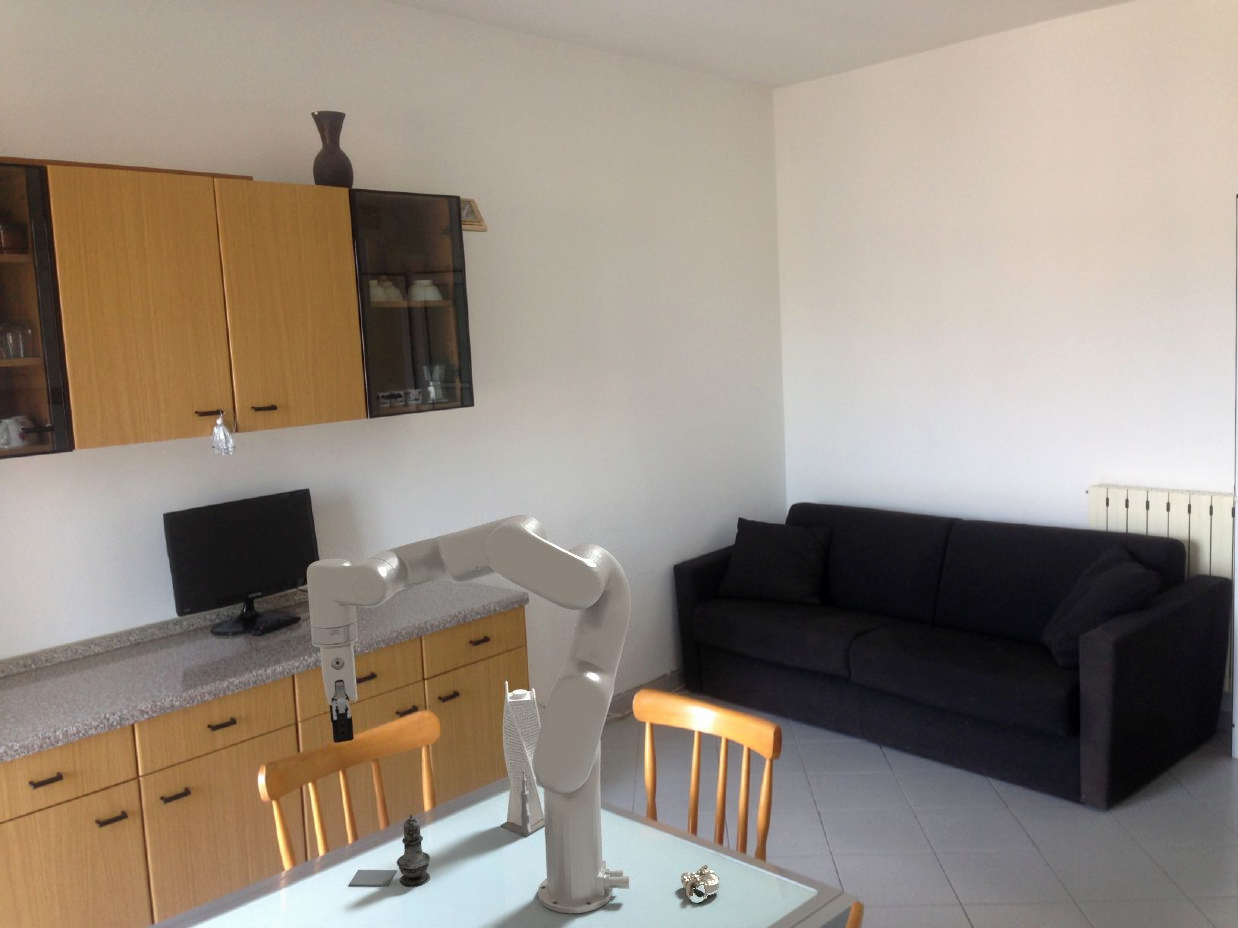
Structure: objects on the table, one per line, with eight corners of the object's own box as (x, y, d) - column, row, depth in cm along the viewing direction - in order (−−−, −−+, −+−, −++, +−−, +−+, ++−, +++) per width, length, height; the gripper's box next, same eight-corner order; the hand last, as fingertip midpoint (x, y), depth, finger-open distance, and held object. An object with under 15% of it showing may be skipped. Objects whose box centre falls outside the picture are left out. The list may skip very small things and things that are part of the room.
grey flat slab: (396, 871, 185) (396, 869, 184) (388, 886, 180) (388, 884, 180) (358, 871, 185) (358, 869, 185) (348, 885, 180) (348, 884, 180)
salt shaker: (392, 886, 179) (388, 820, 178) (405, 869, 185) (401, 805, 184) (424, 888, 178) (420, 822, 177) (436, 871, 184) (433, 807, 183)
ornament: (690, 876, 180) (690, 857, 180) (727, 885, 177) (727, 865, 176) (671, 899, 173) (670, 878, 173) (708, 908, 170) (708, 887, 169)
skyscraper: (494, 825, 201) (488, 686, 198) (522, 809, 208) (517, 674, 204) (526, 836, 196) (520, 694, 193) (554, 820, 202) (549, 682, 199)
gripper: (361, 643, 167) (368, 745, 169) (354, 617, 183) (361, 711, 185) (312, 649, 164) (321, 752, 166) (310, 623, 181) (317, 717, 183)
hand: (342, 730), depth 176 cm, fingers open, 9 cm apart
